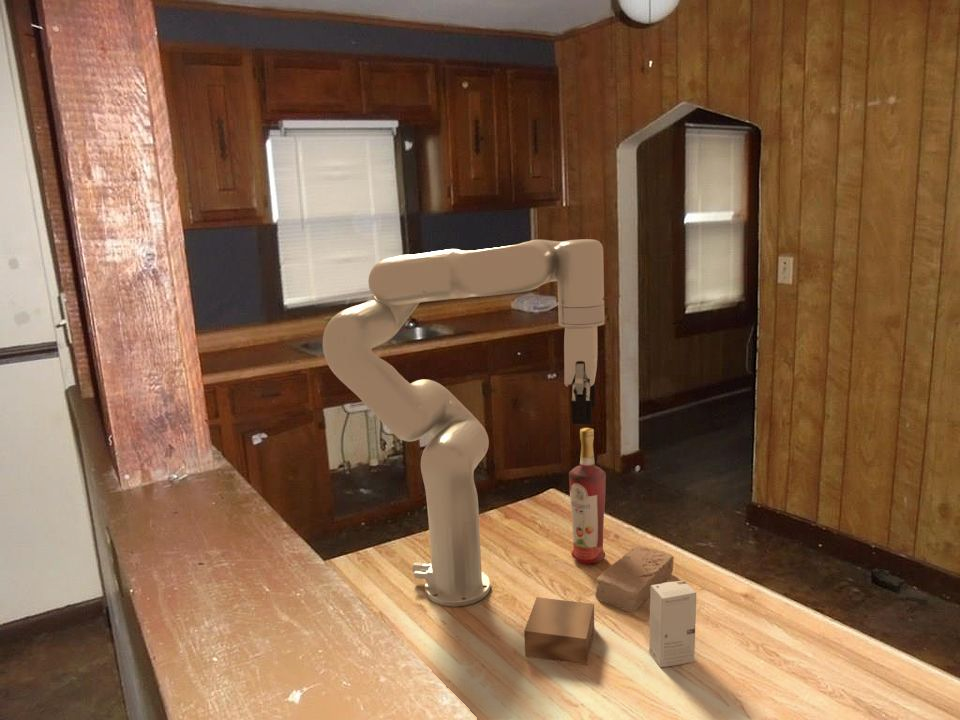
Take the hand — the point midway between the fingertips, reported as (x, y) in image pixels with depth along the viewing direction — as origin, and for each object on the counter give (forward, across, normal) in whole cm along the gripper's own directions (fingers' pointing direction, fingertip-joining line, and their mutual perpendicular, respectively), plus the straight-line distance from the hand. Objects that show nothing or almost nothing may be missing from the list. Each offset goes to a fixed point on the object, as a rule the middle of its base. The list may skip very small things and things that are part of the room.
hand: (583, 414), depth 119 cm
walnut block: (+37, +11, -4) cm, 39 cm away
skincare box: (+37, +13, +14) cm, 41 cm away
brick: (+37, -8, +8) cm, 39 cm away
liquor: (+37, -17, -1) cm, 40 cm away
